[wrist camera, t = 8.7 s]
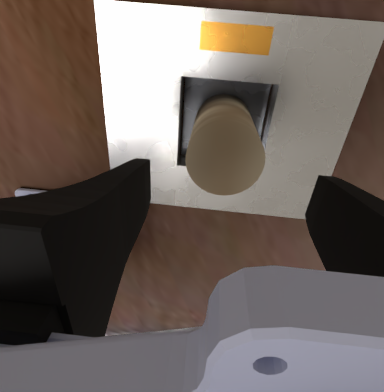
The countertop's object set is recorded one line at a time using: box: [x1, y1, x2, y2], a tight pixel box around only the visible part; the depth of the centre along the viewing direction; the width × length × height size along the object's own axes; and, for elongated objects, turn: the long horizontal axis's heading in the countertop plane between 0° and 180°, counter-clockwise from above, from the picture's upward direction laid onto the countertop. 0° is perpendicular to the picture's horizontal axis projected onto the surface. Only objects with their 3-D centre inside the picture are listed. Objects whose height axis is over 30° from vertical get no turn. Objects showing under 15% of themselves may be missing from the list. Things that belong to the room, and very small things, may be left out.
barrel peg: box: [185, 94, 265, 196], centre depth 16 cm, size 4×4×7 cm
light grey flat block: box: [94, 0, 384, 219], centre depth 19 cm, size 16×13×2 cm
